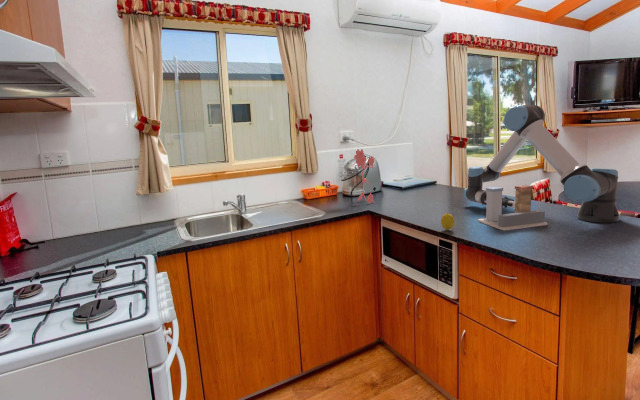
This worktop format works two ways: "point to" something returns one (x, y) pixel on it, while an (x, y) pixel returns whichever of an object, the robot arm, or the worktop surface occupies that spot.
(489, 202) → the grey tall block
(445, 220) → the lemon
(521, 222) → the switch base
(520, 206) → the beige wooden tall block
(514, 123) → the robot arm
